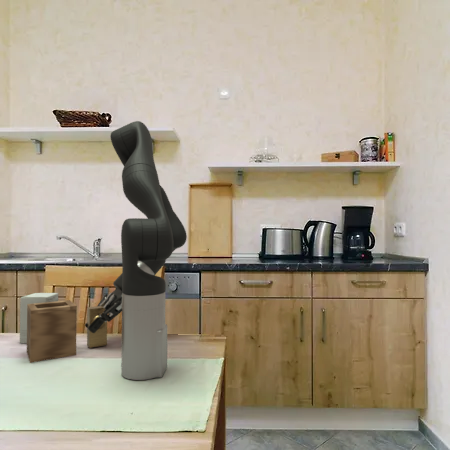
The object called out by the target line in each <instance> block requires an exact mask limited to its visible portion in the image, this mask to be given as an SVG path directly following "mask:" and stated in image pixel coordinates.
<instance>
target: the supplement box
mask: <svg viewBox="0 0 450 450" xmlns="http://www.w3.org/2000/svg"><path fill="white" fill-rule="evenodd" d="M55 301H59V292H34V293H31V294H28V295H24V296H21V297H20V304H19V305H20V309H19V310H20V313H19V344H27V304H33V303H44V302H55Z"/></svg>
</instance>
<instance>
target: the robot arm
mask: <svg viewBox="0 0 450 450" xmlns="http://www.w3.org/2000/svg"><path fill="white" fill-rule="evenodd" d="M109 136H110V141H111V144H112V147H113V149H114V151H115V152H116V155H117V157H118V158H119V160H120V162H121V164H122V165H123V169H122V172H121V182H122V190H123V195H124V196H125V198H126V199H127V200H128V201H129V202H130V203H131V205H132V206H134V207H135V208H136V209H137V210H138V211H140V212H141V213H142V214H143V215H144V216H145V217H146V218H145V217H144V218H143V217H142V218H126V219H125V220H124V221H123V223H122V226H121V230H120V231H121V233H120V243H121V245H120V246H121V259H122V260H121V261H122V264H121V265H122V269H121V270H122V272H121V273H120V274H119V276H118V277H117V278H116V279H115V280H114V281H113V282H112V285H113V286H114V287H115V289H114V290H113V291H112V292H110V293H109V294H108V293H106V294H104V296H103V297H102V298H101V300H99V303H98V304H97V306H104V307H103V311H102V312H101V313H100V314H99V316H98V317H99V318H98V317H97V318H96V319H95V320H94V321H93V322H92V323H91V324H90V325H89V326H88V329H89V330H90V331H91V332H92V333H95V332H96V331H97V330H98V329H99V328H100V326H101V325H102V324H103V323H104V322H107V323H110V322H111V321H112V320H113V319H115V318H116V317H117V316H119V314H120V313H121V362H120V363H121V365H120V367H121V376H122V377H123V378H125V379H127V380H135V381H143V380H151V379H155V378H162V377H163V375H164V374H165V372H166V370H167V368H168V324H166V280H165V279H164V278H163V277H161V276H157V273H158V272H159V271H160V270H161V269H162V268H163V266H164V265H165V264H166V261H167V259H168V258H170V257H171V256H172V254H173V252H174V251H176V250H177V249H179V248H183V246H184V245H185V244H186V242H187V239H188V237H187V231H186V228H185V226H184V225H183V223H182V221H181V220H180V218H179V217H178V215H177V214H176V212H175V210H173V207H172V204H171V202H170V200H169V197H168V195H167V193H166V191H165V189H164V188H163V187H162V186H161V184H160V178H159V175H158V172H157V167H156V164H155V163H156V162H155V159H154V148H153V139H152V136H151V132H150V130H149V128H148V127H147V125H146V124H145V123H143V122H142V121H139V120H136V121H132V122H130V123H127V124H125V125H123V126H121V127H119V128H117V129H115V130H113V131H112V132H111V133H110V135H109ZM84 327H85V328H87V322H86V323H84Z"/></svg>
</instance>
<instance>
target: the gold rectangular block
mask: <svg viewBox="0 0 450 450" xmlns="http://www.w3.org/2000/svg"><path fill="white" fill-rule="evenodd" d="M103 307H104V306H88V307H87V308H86V309H87V310H86V311H87V312H86V313H87V315H86V323H87V327H86V346H87V347H88V348H89V349H91V348H96V347H102V346H108V321H107V322H104V323H103V324H102V325H101V326H100V328H99V329H98V330H97V331H96V332H95V333H92V332H91V331H90V330H89V329H88V326H89V325H90V324H91V323H92V322H93V321H94V320H95V319H96V318H97V317H98V316H99V314H100V313H101V312H102V311H103ZM98 318H99V317H98Z"/></svg>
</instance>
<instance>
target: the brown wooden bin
mask: <svg viewBox="0 0 450 450" xmlns="http://www.w3.org/2000/svg"><path fill="white" fill-rule="evenodd" d="M77 310H78V309H77V305H76V304H75V303H74V302H73V301H72V300H70V299H67V300H65V299H64V300H58V301H55V302H44V303H33V304H27V343H26V353H27V356H28V360H29V364H32V363H38V362H42V361H48V360H56V359H60V358H66V357H71V356H73V357H74V356H77V320H78V319H77V313H78V312H77Z"/></svg>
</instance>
